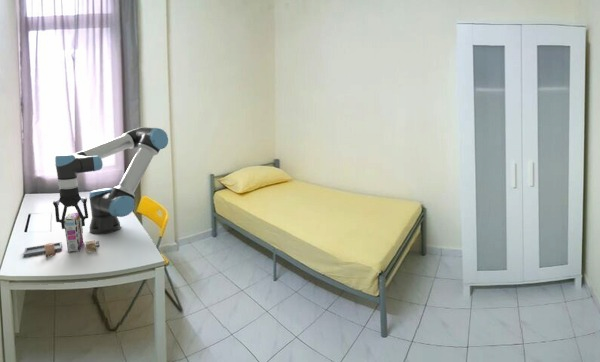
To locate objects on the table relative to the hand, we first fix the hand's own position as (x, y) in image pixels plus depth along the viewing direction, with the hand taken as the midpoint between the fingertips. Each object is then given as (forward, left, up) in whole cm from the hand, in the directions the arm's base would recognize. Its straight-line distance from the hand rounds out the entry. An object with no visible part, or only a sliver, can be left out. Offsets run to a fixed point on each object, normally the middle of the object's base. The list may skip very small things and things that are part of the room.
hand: (74, 233), depth 164 cm
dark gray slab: (-8, 0, -8) cm, 11 cm away
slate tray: (+13, -4, -7) cm, 15 cm away
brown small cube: (+10, +3, -7) cm, 13 cm away
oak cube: (-6, +6, -8) cm, 12 cm away
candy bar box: (0, 0, -8) cm, 8 cm away
